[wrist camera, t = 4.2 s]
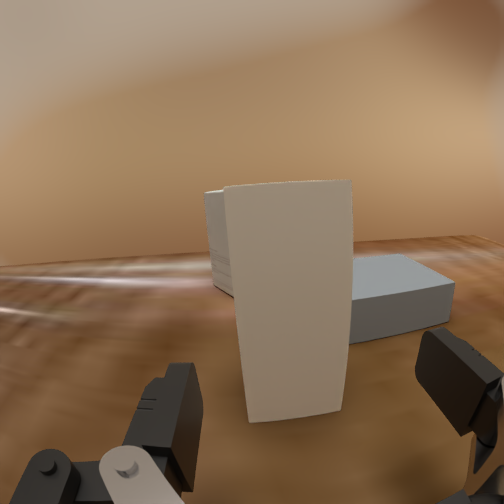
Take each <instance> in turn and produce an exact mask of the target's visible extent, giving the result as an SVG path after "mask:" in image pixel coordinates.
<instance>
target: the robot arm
mask: <svg viewBox="0 0 504 504" xmlns="http://www.w3.org/2000/svg"><path fill="white" fill-rule="evenodd" d="M415 374H416V378H417V380H418V382H419V383H420V384H421V386H422V387H423V388H424V389H425V391H426V392H427V393H428V394H429V396H430V397H431V398H432V400H433V401H434V402H435V403H436V405H437V406H438V407H439V409H440V410H441V411H442V412H443V414H444V415H445V416H446V418H447V419H448V420H449V422H450V423H451V424H452V426H453V427H454V428H455V430H456V431H457V432H458V434H459V435H460V436H463V435H465V434H467V433H469V432H471V431H474V433H475V434H474V435H473V437H472V440H471V449H470V458H469V466H468V473H467V479H466V482H465V485H464V487H463V489H462V490H461V491H459V492H457V493H455V494H453V495H452V496H450V497H448V498H446V499H444V500H442V501H440V502H438V503H436V504H504V373H503V372H501V371H500V370H499V369H498V368H497V367H496V366H495V365H493V364H492V363H491V362H490V361H489V360H488V359H486V358H485V357H484V356H483V355H482V356H481V353H479V352H478V351H477V350H474V348H473V347H472V346H471V345H470V344H469V343H467V342H466V341H464V340H462V339H460V338H457V337H456V336H454V335H453V334H452V333H451V332H450V331H448V330H447V329H446V328H444V327H440V328H436V329H432V330H429V331H426V332H424V334H423V336H422V340H421V344H420V349H419V353H418V357H417V362H416V366H415ZM202 418H203V400H202V395H201V391H200V387H199V382H198V378H197V374H196V369H195V366H194V363H170V364H169V366H168V369H167V371H166V374H165V377H164V378H154V379H153V380H152V381H151V382H150V383H149V384H148V385H147V386H146V387H145V389H144V392H143V394H142V397H141V401H139V404H138V406H137V410H136V411H135V414H134V416H133V419H132V421H131V424H130V426H129V429H128V431H127V434H126V436H125V439H124V442H123V444H122V446H119V447H116V448H113V449H111V450H110V451H108V452H107V453H106V454H105V455H104V456H103V457H102V459H101V460H100V461H90V462H71V461H70V459H69V458H68V457H67V456H66V455H65V454H64V453H63V452H61V451H59V450H55V449H46V450H42V451H40V452H38V453H36V454H35V455H34V456H33V457H32V458H31V460H30V461H29V463H28V465H27V467H26V469H25V471H24V473H23V475H22V477H21V479H20V481H19V484H18V486H17V488H16V490H15V492H14V494H13V497H12V499H11V501H10V503H9V504H185V503H184V502H183V501H182V500H181V493H182V492H193V487H194V479H195V471H196V463H197V455H198V448H199V440H200V433H201V425H202Z"/></svg>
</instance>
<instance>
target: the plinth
mask: <svg viewBox="0 0 504 504" xmlns="http://www.w3.org/2000/svg"><path fill="white" fill-rule="evenodd" d="M454 288H455V282H454V281H452V280H450V279H448V278H446V277H445V276H443V275H441V274H439V273H437V272H435V271H433V270H431V269H429V268H427V267H425V266H424V265H422V264H420V263H418V262H416V261H414V260H412V259H410V258H408V257H406V256H404V255H402V254H392V255H383V256H373V257H364V258H354V259H353V283H352V306H351V322H350V335H349V344H353V343H358V342H364V341H369V340H374V339H379V338H384V337H388V336H393V335H397V334H402V333H406V332H410V331H414V330H419V329H422V328H426V327H430V326H434V325H438V324H441V323H445V322H448V321H449V317H450V312H451V306H452V300H453V294H454Z"/></svg>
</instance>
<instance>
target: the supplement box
mask: <svg viewBox="0 0 504 504" xmlns="http://www.w3.org/2000/svg"><path fill="white" fill-rule="evenodd" d="M204 200H205V212H206V222H207V230H208V239H209V247H210V257H211V265H212V274H213V282H214V285H215V286H217V287H218V288H220V289H222V290H223V291H225V292H226V293H228V294H230V295H231V296H233V297H234V295H233V286H232V276H231V266H230V257H229V246H228V236H227V226H226V215H225V204H224V192H223V190H218V191H211V192H205V193H204Z"/></svg>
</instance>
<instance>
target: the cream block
mask: <svg viewBox="0 0 504 504" xmlns="http://www.w3.org/2000/svg"><path fill="white" fill-rule="evenodd" d="M351 186H352V185H351V180H319V181H295V182H278V183H264V184H251V185H237V186H227V187H223V192H224V204H225V215H226V226H227V236H228V246H229V257H230V266H231V276H232V286H233V295H234V304H235V313H236V322H237V331H238V340H239V348H240V356H241V365H242V373H243V381H244V388H245V396H246V404H247V411H248V419H249V423H256V422H268V421H277V420H286V419H293V418H301V417H307V416H313V415H319V414H325V413H330V412H336V411H341V405H342V399H343V391H344V384H345V376H346V367H347V357H348V347H349V335H350V322H351V306H352V283H353V207H352V187H351Z"/></svg>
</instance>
